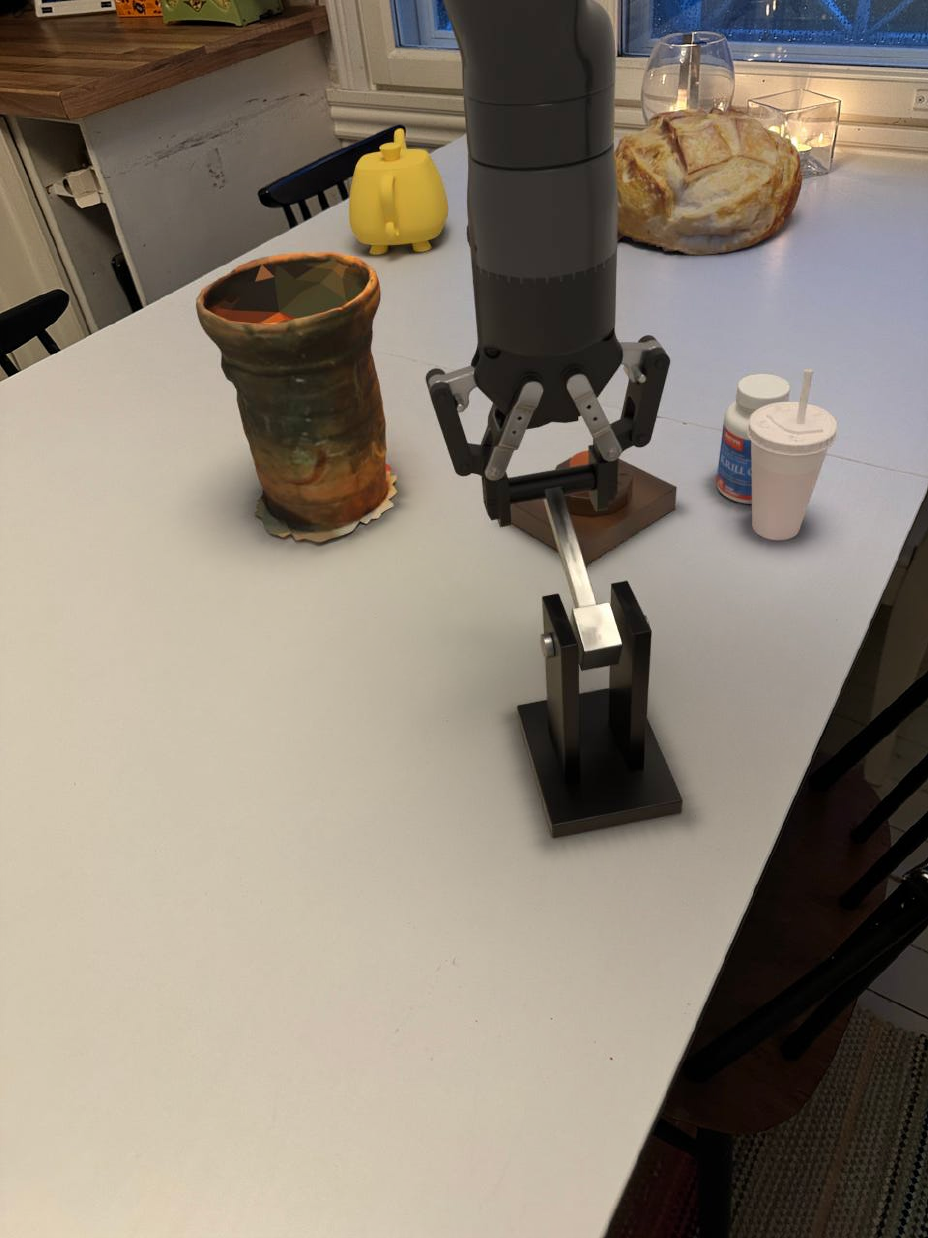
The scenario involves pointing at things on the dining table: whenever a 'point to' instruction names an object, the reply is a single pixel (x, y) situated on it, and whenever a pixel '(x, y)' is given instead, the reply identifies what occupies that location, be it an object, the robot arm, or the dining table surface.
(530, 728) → the switch bracket
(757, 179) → the bread
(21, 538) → the dining table surface
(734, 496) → the pill bottle
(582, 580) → the switch
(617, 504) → the button block
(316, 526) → the vessel
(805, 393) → the smoothie
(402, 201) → the teapot
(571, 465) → the button
